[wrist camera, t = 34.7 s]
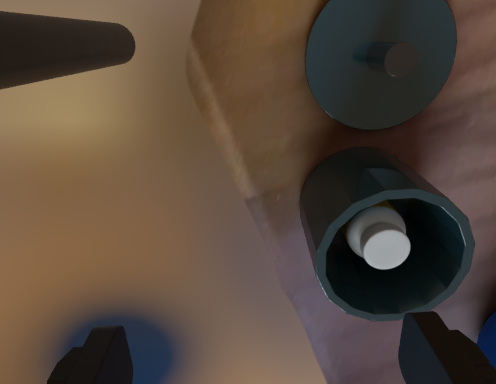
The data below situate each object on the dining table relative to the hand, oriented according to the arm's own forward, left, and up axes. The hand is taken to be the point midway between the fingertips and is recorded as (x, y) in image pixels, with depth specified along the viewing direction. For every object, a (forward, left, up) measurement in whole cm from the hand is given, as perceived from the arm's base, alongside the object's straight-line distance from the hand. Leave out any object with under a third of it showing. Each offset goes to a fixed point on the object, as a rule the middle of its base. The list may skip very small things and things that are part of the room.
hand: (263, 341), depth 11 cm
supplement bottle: (+11, -9, -29) cm, 32 cm away
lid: (+12, +6, -28) cm, 31 cm away
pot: (+11, -9, -29) cm, 32 cm away
